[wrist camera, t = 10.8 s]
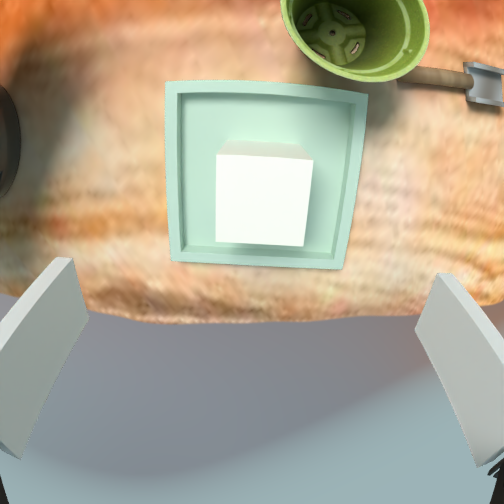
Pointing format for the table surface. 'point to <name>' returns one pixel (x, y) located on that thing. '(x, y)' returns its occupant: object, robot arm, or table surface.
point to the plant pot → (360, 35)
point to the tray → (269, 130)
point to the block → (262, 192)
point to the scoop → (464, 81)
